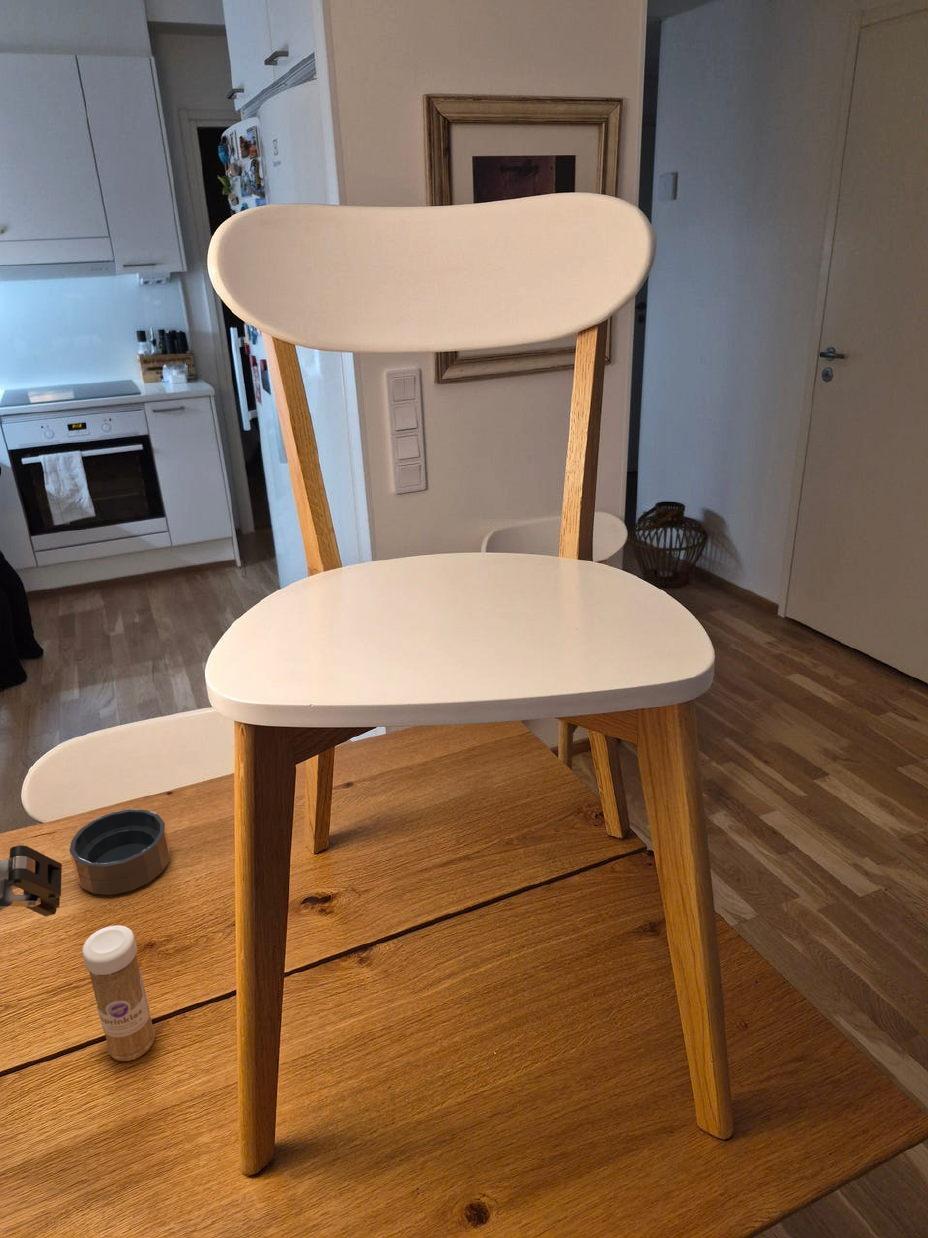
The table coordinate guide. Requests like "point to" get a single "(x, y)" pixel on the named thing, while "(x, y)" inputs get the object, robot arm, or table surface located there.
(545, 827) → the table surface
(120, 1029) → the sprinkles bottle
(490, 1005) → the table surface
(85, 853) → the bowl
